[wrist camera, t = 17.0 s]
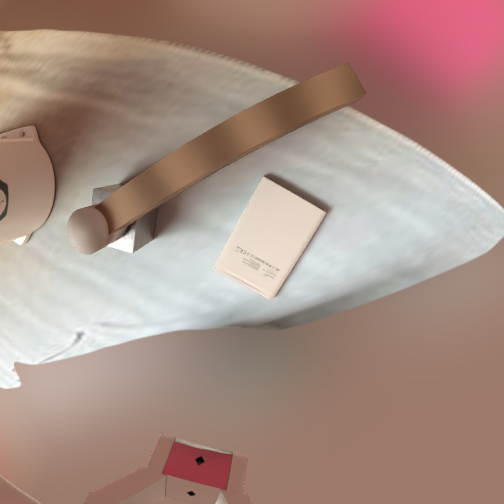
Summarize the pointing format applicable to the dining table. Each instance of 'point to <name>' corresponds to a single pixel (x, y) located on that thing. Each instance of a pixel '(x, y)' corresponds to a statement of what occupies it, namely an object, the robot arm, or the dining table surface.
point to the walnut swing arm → (212, 155)
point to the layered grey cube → (136, 231)
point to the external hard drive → (269, 238)
